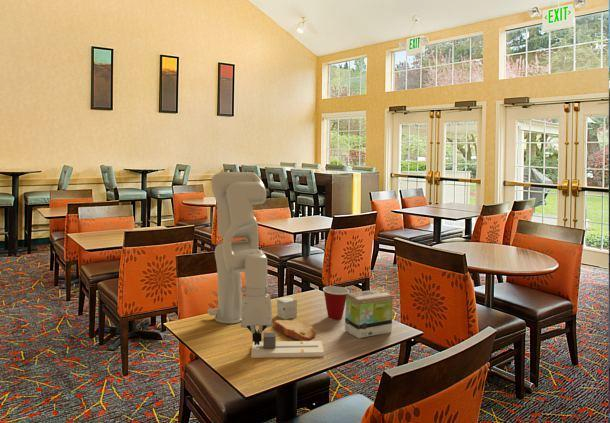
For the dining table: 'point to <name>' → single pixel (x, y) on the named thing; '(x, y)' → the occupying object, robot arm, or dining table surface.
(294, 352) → the console board
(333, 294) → the plastic cup
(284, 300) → the skincare box
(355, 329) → the tea box
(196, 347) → the dining table surface
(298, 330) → the bread slice
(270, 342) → the slider tab
